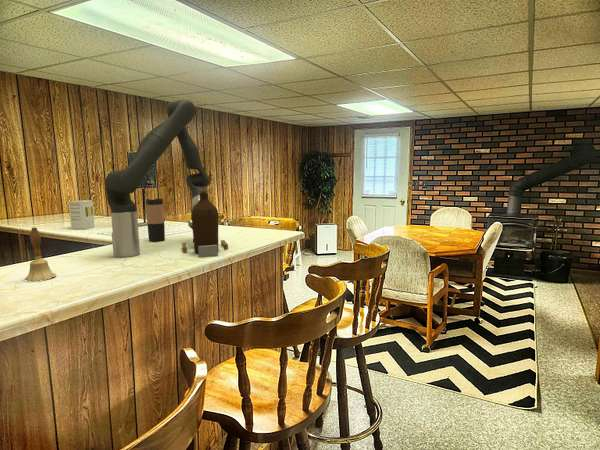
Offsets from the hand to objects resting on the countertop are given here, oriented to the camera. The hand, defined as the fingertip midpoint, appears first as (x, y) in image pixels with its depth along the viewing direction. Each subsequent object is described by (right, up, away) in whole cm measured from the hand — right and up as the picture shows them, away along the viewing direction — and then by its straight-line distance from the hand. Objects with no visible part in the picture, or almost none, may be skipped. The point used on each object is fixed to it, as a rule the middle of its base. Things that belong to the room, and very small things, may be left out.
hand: (205, 239), depth 157 cm
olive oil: (+2, -5, -4) cm, 7 cm away
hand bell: (-41, -11, -40) cm, 58 cm away
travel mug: (-29, -2, +24) cm, 38 cm away
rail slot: (-1, -4, +3) cm, 5 cm away
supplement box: (-92, +4, +71) cm, 116 cm away
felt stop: (+4, -6, -12) cm, 14 cm away
